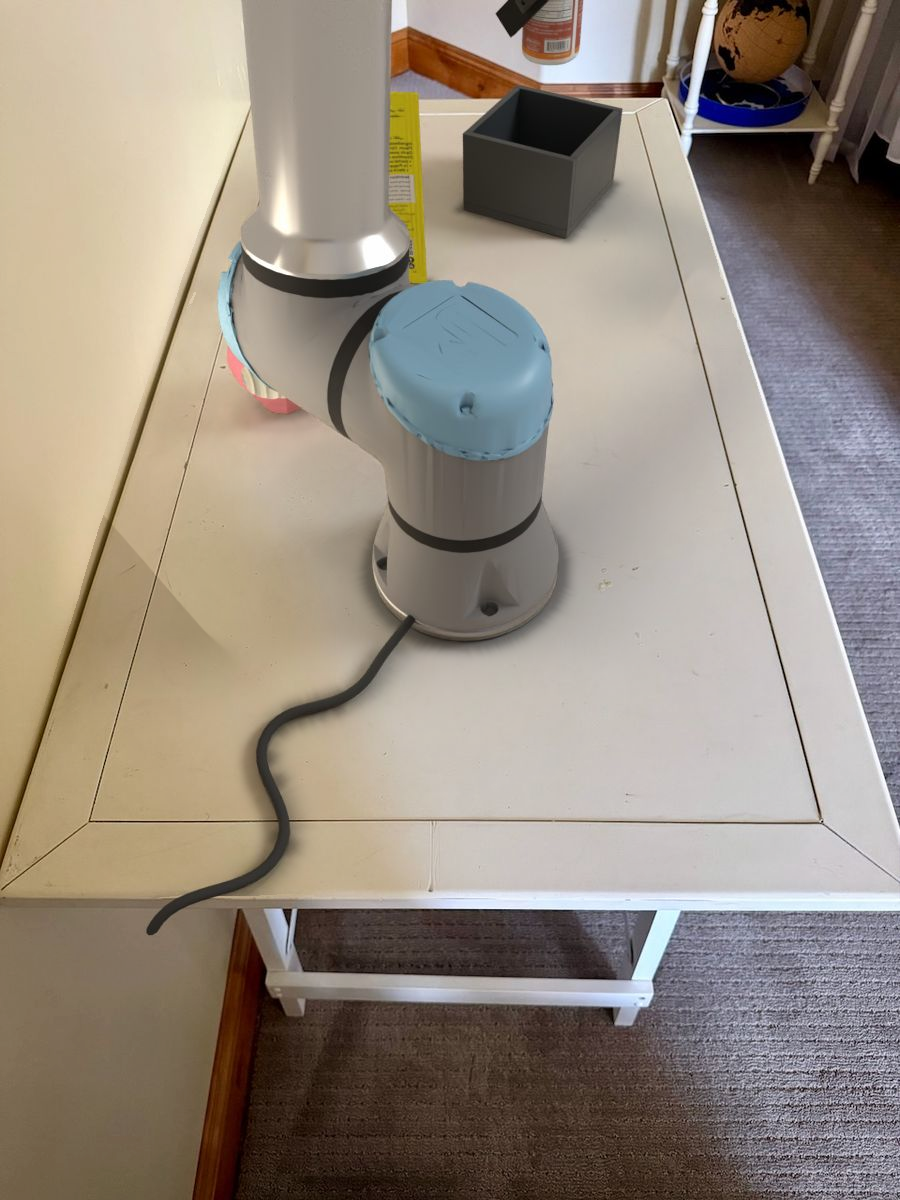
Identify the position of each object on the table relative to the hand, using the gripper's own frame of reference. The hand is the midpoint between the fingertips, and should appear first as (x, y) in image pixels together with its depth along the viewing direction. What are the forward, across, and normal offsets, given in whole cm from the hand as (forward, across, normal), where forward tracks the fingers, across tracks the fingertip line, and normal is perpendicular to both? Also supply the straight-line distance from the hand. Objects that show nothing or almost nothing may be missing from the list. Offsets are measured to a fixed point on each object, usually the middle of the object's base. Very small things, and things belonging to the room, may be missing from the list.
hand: (522, 12), depth 95 cm
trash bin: (+11, 0, -16) cm, 20 cm away
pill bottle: (0, 0, -5) cm, 5 cm away
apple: (+13, -45, -15) cm, 49 cm away
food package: (+17, -26, -10) cm, 33 cm away
